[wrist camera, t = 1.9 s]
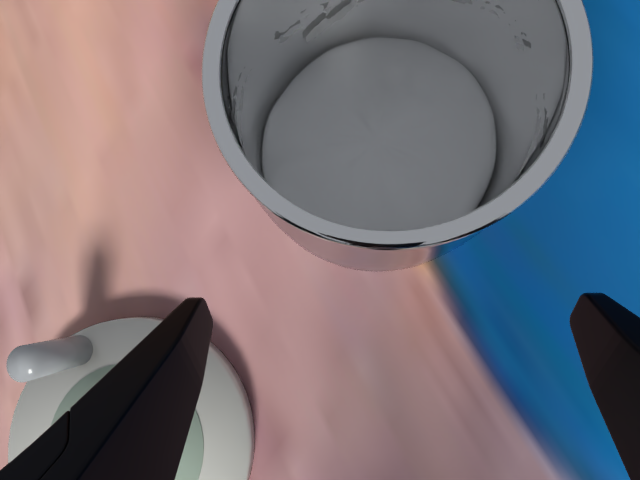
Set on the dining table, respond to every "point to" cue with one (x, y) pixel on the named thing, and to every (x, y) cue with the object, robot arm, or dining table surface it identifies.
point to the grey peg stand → (96, 361)
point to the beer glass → (394, 115)
